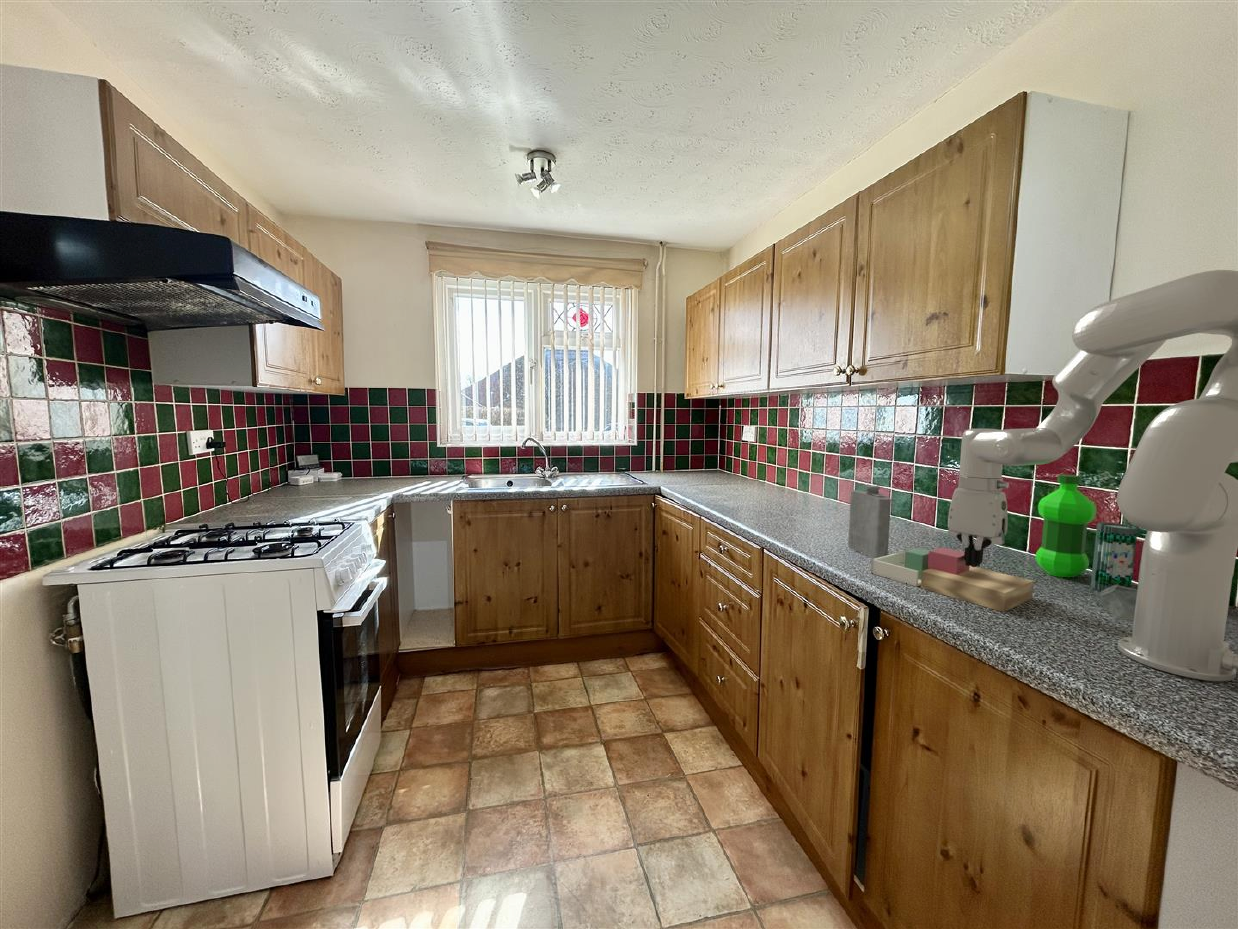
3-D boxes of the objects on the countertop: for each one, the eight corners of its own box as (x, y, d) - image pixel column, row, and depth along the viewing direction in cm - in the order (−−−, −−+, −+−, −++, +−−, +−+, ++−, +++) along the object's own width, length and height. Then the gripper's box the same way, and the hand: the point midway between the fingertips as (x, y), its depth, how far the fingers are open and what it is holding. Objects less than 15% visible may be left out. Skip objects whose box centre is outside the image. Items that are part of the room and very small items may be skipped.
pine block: (1032, 598, 105) (1033, 580, 105) (1003, 612, 98) (1005, 593, 97) (951, 577, 119) (952, 561, 118) (920, 587, 111) (921, 571, 111)
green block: (935, 551, 118) (918, 547, 121) (922, 555, 114) (905, 551, 118) (934, 575, 118) (916, 571, 122) (920, 579, 115) (903, 575, 119)
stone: (1191, 633, 91) (1153, 599, 100) (1196, 616, 90) (1158, 584, 98) (1119, 631, 94) (1089, 598, 103) (1124, 614, 93) (1092, 583, 102)
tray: (946, 576, 119) (947, 562, 119) (916, 586, 112) (917, 571, 112) (901, 564, 129) (902, 551, 128) (870, 573, 122) (871, 559, 121)
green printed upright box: (1098, 592, 109) (1105, 527, 107) (1086, 583, 114) (1093, 521, 113) (1135, 596, 106) (1143, 529, 105) (1120, 587, 112) (1128, 524, 110)
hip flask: (845, 547, 146) (849, 481, 144) (858, 547, 146) (862, 481, 144) (878, 563, 130) (882, 490, 128) (892, 563, 130) (897, 490, 128)
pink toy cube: (969, 570, 112) (970, 553, 111) (956, 574, 108) (957, 557, 108) (941, 563, 117) (942, 547, 116) (927, 567, 114) (929, 551, 113)
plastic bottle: (1091, 584, 114) (1101, 479, 111) (1032, 575, 121) (1041, 475, 118) (1087, 574, 121) (1097, 475, 119) (1032, 565, 128) (1041, 472, 126)
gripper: (1028, 487, 102) (1020, 572, 104) (950, 479, 115) (944, 554, 117) (1012, 490, 98) (1005, 578, 100) (934, 481, 111) (928, 559, 113)
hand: (972, 565), depth 108 cm, fingers closed
